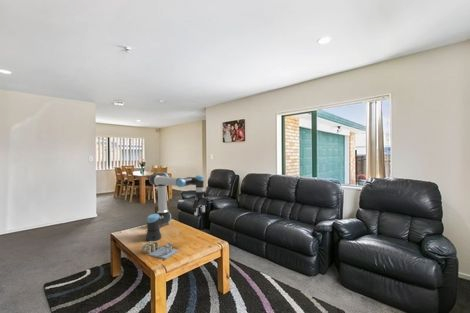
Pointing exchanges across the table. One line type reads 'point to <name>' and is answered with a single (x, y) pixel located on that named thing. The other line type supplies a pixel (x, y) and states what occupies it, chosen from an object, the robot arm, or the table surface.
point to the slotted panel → (150, 247)
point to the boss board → (164, 251)
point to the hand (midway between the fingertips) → (199, 213)
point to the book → (157, 211)
